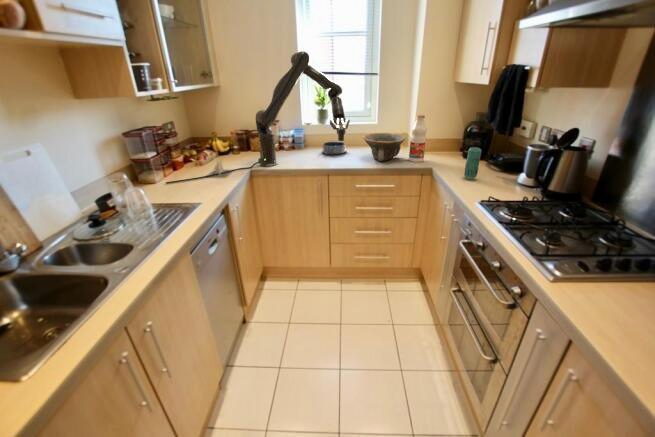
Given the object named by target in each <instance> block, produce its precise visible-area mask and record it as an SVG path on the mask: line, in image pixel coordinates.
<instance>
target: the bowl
mask: <svg viewBox="0 0 655 437" xmlns="http://www.w3.org/2000/svg"><path fill="white" fill-rule="evenodd" d="M363 140H364V142H365V143H366V144H367V145H368V147H370V149H371V155H372V156H373V159H375V160H378V161H379V162H384V161H390V160H393V159H394V157H395V158H396V157H397V156H398V155H399V153H400V151H401V145H402V144H403V143H404V141H405V140H406V137H405V136H404V135H402V134H399V133H391V132H390V133H389V132H376V133H375V132H374V133H369V134H365V135H364V136H363Z"/></svg>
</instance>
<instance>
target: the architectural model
mask: <svg viewBox="0 0 655 437" xmlns="http://www.w3.org/2000/svg"><path fill="white" fill-rule="evenodd" d="M213 170H214V171H212V172H211V173H210V174H209V175H213V174H219V175H215V176H210V177H209V178H227V176H229V175H230V174H231V173H232V172H233V171H231V172H227V173H223V174H220V173H222V172H226V171H230V170H231V169H224V166H223V161H222V159H220V160H217V161H216V164H215V166H214V167H213Z"/></svg>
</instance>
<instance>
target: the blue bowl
mask: <svg viewBox="0 0 655 437" xmlns="http://www.w3.org/2000/svg"><path fill="white" fill-rule="evenodd" d="M346 150H347V145H346V142H344V141H327V142H323V143H322V152H323V153H324V154H327V155H341V154H344V153H346Z"/></svg>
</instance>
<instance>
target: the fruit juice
mask: <svg viewBox="0 0 655 437" xmlns="http://www.w3.org/2000/svg"><path fill="white" fill-rule="evenodd" d="M425 118H426V117H425V114H417V115H416V120H415V122H414V125H413V126H412V128H411V136H410V140H409V152H408V160H409V161H410V162H413V163H421V162H423V161H424V160H425V152H426V143H427V136H426V134H427V132H428V129H427V126H426V123H425Z"/></svg>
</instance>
